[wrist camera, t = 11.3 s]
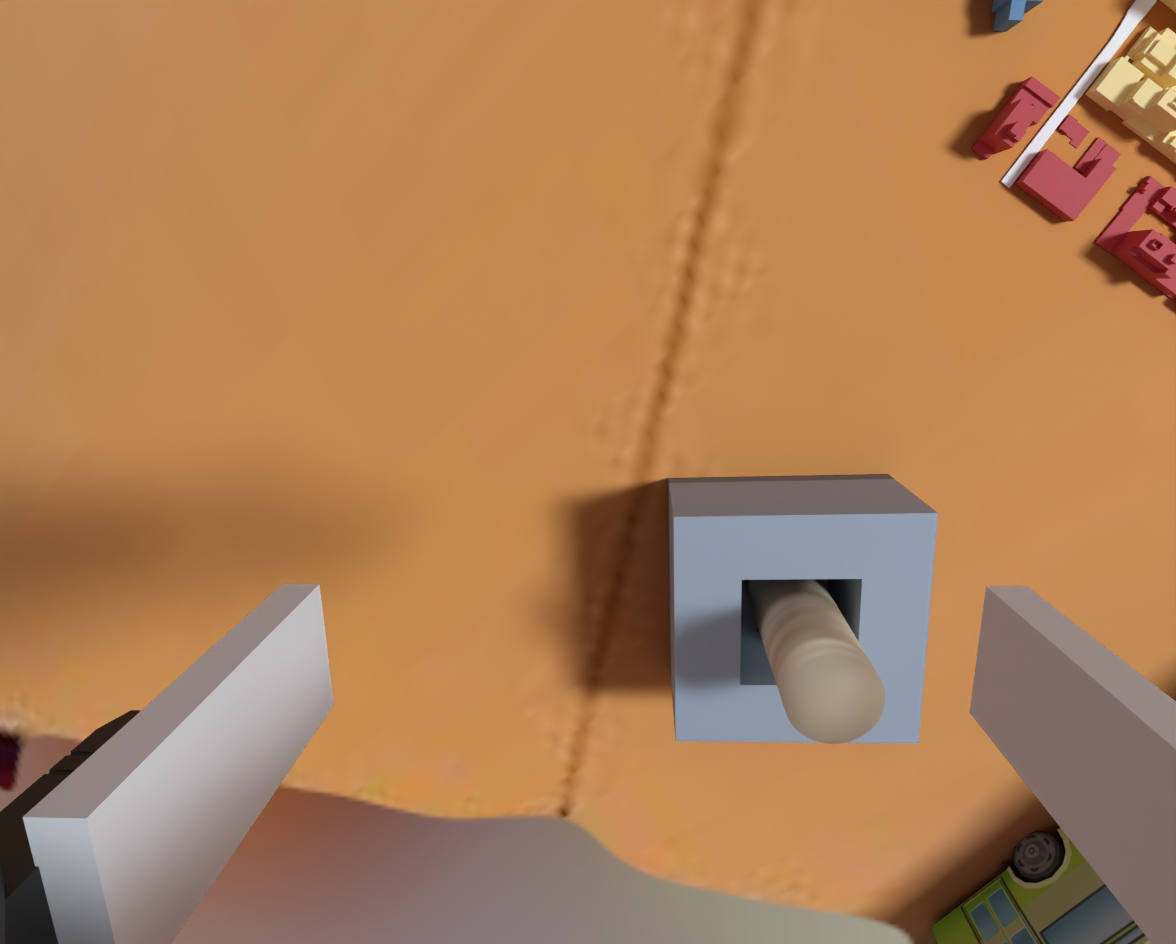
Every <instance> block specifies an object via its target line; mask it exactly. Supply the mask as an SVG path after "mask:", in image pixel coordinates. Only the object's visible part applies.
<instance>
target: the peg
mask: <svg viewBox="0 0 1176 944" xmlns="http://www.w3.org/2000/svg"><path fill="white" fill-rule="evenodd" d="M745 587H746V593H747V596H748V599H749V602H750V605H751V608H752V611H753V614H754V617H755V620H756V623H757V626H758V629H759V632H760V635H761V638H762V642H763V645H764V648H765V651H766V654H767V657H768V660H769V663H770V666H771V669H772V672H773V675H774V678H775V681H776V684H777V687H778V690H779V694H780V697H781V700H782V703H783V706H784V709H785V712H786V715H787V717H788V719H789V721H790V722H791V724H792V725H793V727H794V728H795V729H796V730H797V731H799V732H800V733H801V734H802V735H804V736H806V737H807V738H809V739H812V740H814V741H817V742H821V743H829V744H838V743H845V742H849V741H852V740H855V739H857V738H859V737H861V736H863V735H864V734H866V733H867V732H868V731H870V730H871V729H872V728H873V727H874V726H875V725H876V723H877V722H878V720H879V719H880V717H881V715H882V713H883V710H884V707H885V689H884V686H883V683H882V681H881V679H880V677H879V675H878V674H877V672H876V670H875V669H874V667H873V665H872V664H871V662H870V660H869V659H868V657H867V655H866V654H865V652H864V650H863V649H862V647H861V645H860V644H859V642H858V640H857V639H856V637H855V635H854V634H853V632H852V630H851V629H850V627H849V625H848V624H847V622H846V620H845V618H844V617H843V615H842V613H841V612H840V610H839V608H838V607H837V605H836V603H835V602H834V600H833V598H832V597H831V595H830V593H829V592H828V590H827V588H826V587H825V585H824V583H823V582H822V580H821V579H788V580H746V582H745Z"/></svg>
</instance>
